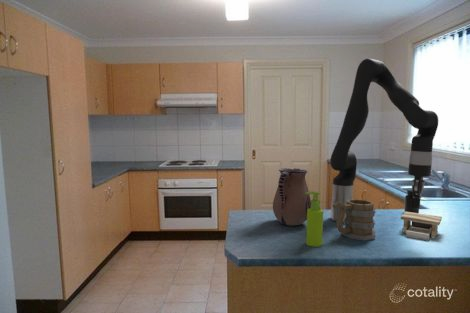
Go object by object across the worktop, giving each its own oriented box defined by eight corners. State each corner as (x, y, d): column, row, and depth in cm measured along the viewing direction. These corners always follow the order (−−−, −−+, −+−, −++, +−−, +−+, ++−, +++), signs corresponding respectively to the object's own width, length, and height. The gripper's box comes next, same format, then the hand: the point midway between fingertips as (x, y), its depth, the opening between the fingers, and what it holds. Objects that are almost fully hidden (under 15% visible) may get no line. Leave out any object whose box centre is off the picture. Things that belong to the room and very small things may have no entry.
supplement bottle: (417, 212, 175) (418, 189, 174) (420, 215, 169) (421, 192, 168) (403, 210, 177) (404, 188, 176) (405, 213, 171) (406, 191, 170)
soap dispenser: (301, 241, 126) (303, 190, 125) (318, 241, 127) (320, 190, 125) (306, 246, 121) (307, 193, 119) (324, 246, 121) (326, 193, 119)
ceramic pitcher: (314, 220, 155) (316, 168, 153) (304, 233, 136) (305, 173, 134) (278, 216, 163) (279, 166, 160) (264, 227, 143) (265, 171, 141)
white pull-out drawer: (428, 240, 129) (428, 234, 129) (405, 236, 134) (406, 230, 134) (431, 231, 142) (431, 225, 141) (410, 227, 146) (410, 222, 146)
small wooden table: (438, 238, 132) (439, 222, 131) (399, 231, 140) (400, 216, 139) (440, 232, 141) (441, 216, 140) (404, 225, 149) (405, 211, 148)
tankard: (360, 229, 143) (361, 195, 142) (382, 238, 131) (384, 201, 130) (321, 233, 136) (322, 198, 135) (341, 243, 124) (342, 205, 123)
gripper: (429, 165, 117) (425, 212, 119) (433, 162, 128) (429, 205, 130) (406, 163, 122) (402, 209, 123) (411, 160, 132) (408, 202, 134)
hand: (416, 207), depth 127 cm, fingers closed
